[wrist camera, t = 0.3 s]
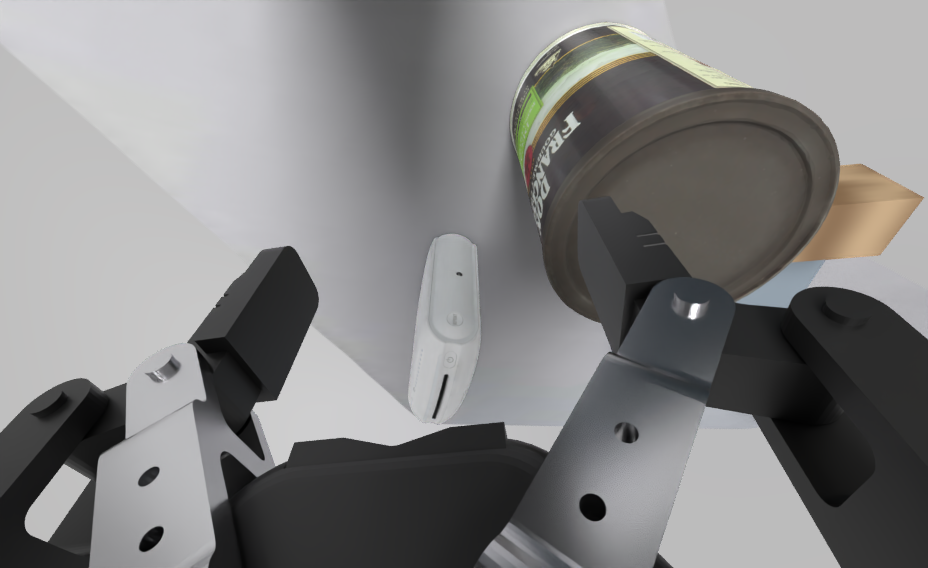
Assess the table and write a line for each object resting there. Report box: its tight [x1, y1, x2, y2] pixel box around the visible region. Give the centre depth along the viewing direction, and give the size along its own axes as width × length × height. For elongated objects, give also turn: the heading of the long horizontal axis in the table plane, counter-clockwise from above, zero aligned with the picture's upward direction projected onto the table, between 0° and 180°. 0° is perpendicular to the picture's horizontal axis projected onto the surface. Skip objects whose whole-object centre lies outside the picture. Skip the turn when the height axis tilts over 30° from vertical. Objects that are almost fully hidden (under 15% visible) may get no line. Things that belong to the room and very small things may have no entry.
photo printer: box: [408, 234, 481, 425], centre depth 30 cm, size 10×4×12 cm, turn 168°
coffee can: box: [510, 22, 840, 323], centre depth 20 cm, size 10×10×14 cm
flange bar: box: [792, 164, 924, 262], centre depth 27 cm, size 10×4×5 cm, turn 96°
